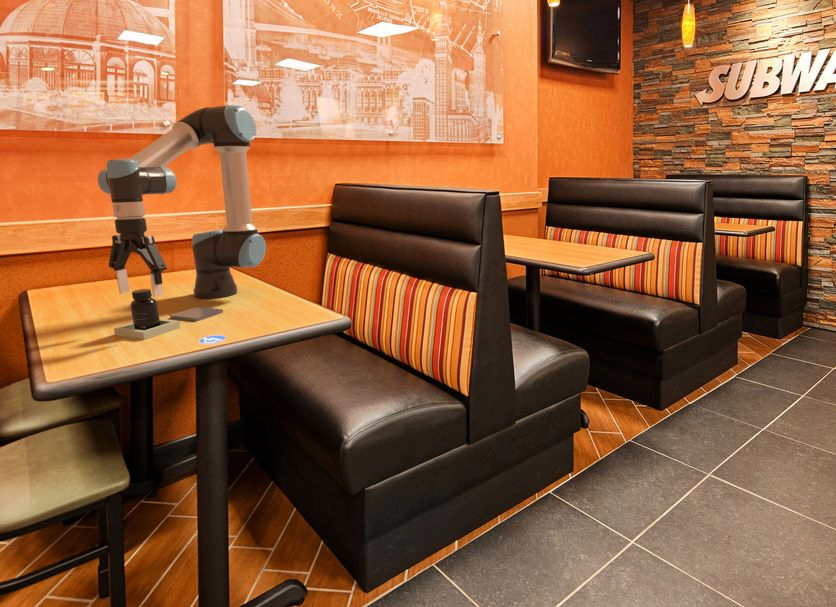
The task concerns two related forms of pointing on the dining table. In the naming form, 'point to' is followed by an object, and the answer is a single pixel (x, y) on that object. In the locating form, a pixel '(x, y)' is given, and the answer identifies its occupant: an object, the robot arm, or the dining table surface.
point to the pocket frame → (144, 334)
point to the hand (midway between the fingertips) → (141, 294)
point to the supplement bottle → (144, 310)
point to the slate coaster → (196, 313)
